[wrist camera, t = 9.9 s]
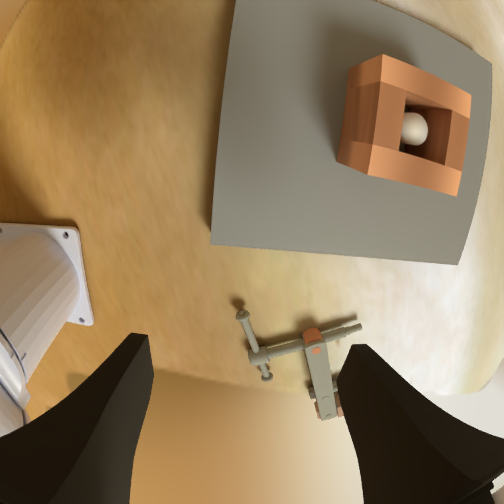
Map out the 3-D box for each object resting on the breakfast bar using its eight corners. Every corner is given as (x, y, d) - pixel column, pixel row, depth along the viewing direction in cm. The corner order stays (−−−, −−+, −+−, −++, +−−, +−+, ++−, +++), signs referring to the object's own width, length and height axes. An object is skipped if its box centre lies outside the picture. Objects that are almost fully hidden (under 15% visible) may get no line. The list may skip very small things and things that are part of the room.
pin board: (212, 234, 18) (205, 269, 14) (240, -17, 11) (242, -54, 7) (447, 256, 19) (480, 284, 15) (479, 64, 13) (519, 62, 9)
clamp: (377, 404, 24) (280, 433, 24) (371, 389, 26) (278, 416, 26) (379, 281, 18) (231, 325, 18) (366, 266, 20) (231, 305, 20)
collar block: (336, 162, 15) (367, 174, 11) (348, 68, 12) (382, 54, 9) (416, 179, 15) (456, 196, 11) (428, 96, 13) (471, 95, 9)
